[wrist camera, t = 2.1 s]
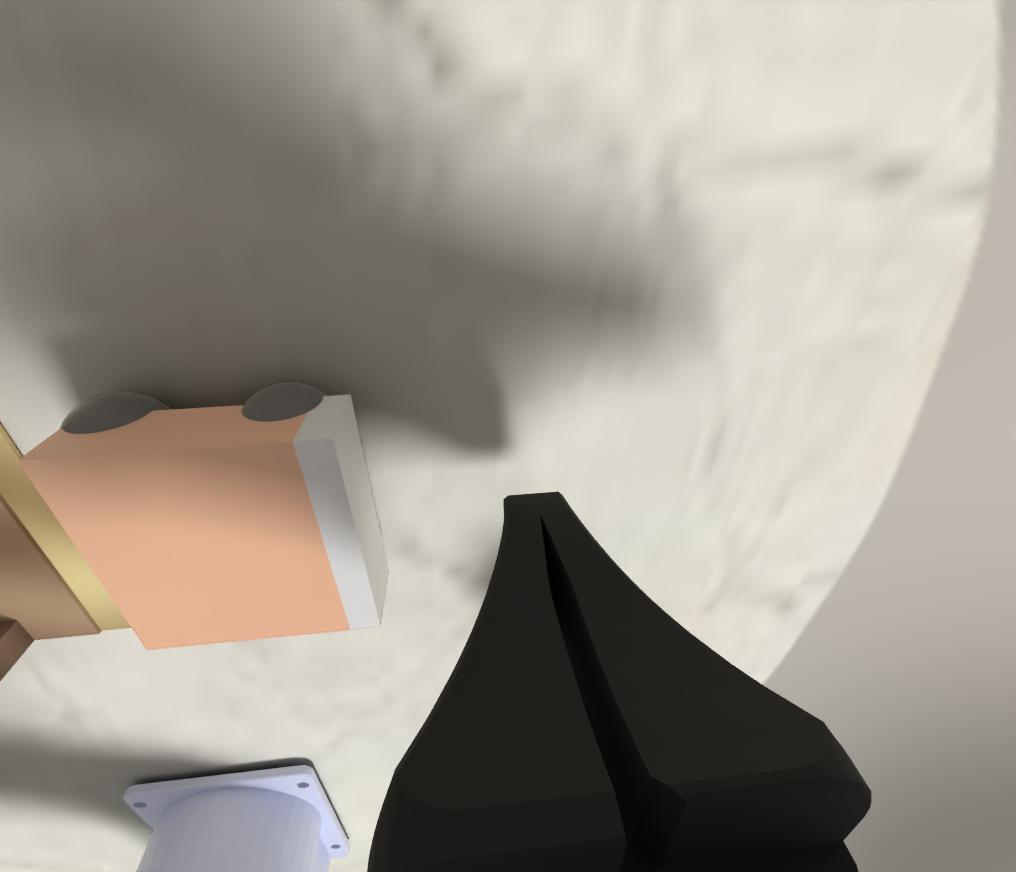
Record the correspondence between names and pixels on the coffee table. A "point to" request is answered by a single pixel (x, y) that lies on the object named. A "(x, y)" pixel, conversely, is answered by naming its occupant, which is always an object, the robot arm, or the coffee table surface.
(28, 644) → the tray
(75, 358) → the coffee table surface
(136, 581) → the trolley
